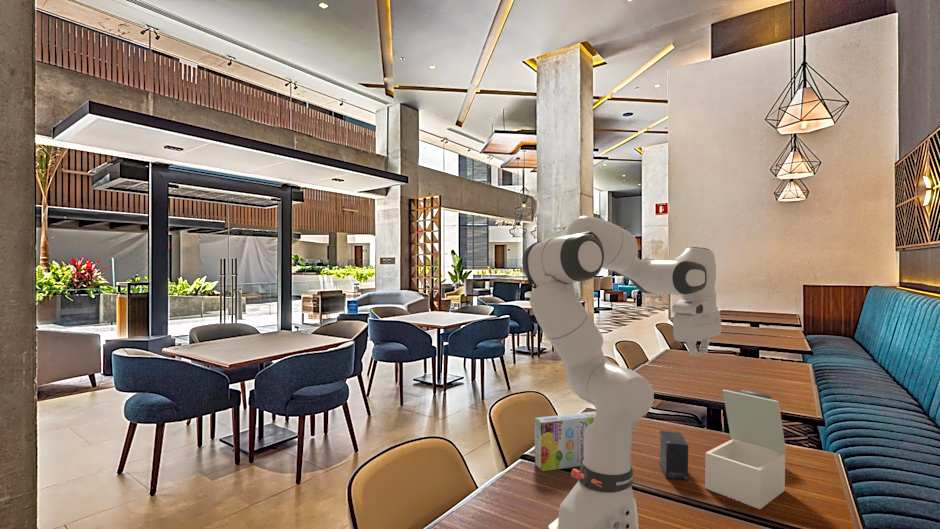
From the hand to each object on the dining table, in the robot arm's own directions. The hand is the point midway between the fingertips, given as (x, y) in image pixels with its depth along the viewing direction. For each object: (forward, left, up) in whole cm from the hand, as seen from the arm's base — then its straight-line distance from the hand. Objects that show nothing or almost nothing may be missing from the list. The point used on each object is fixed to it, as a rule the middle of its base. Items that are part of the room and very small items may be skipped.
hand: (698, 354), depth 134 cm
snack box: (-18, +32, -37) cm, 52 cm away
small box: (+3, +9, -37) cm, 39 cm away
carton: (+8, -9, -37) cm, 39 cm away
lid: (+13, -9, -19) cm, 25 cm away
